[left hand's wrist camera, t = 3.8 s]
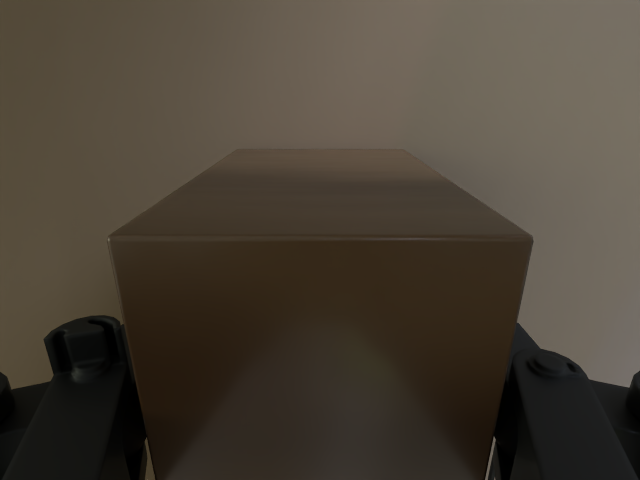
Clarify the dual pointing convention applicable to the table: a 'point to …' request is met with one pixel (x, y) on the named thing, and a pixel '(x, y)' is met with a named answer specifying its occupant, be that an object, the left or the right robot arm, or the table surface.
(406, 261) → the bar
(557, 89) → the table surface
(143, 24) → the table surface
